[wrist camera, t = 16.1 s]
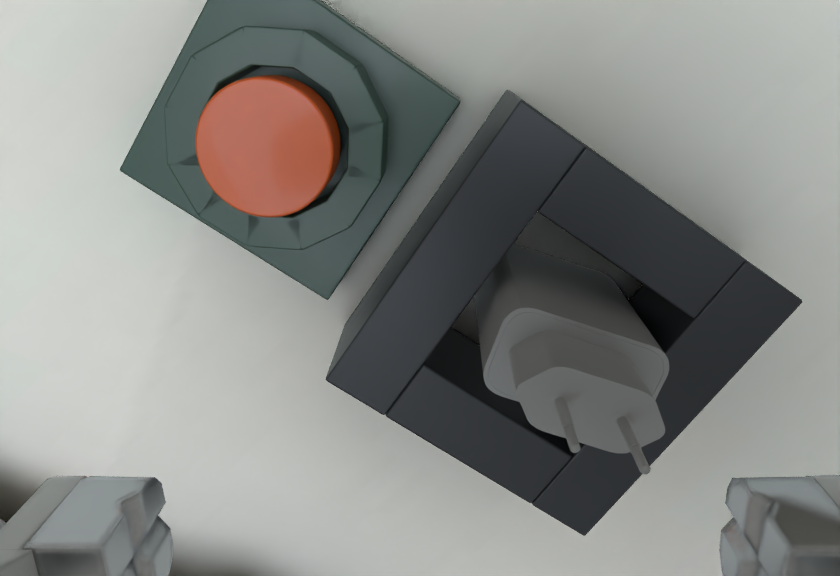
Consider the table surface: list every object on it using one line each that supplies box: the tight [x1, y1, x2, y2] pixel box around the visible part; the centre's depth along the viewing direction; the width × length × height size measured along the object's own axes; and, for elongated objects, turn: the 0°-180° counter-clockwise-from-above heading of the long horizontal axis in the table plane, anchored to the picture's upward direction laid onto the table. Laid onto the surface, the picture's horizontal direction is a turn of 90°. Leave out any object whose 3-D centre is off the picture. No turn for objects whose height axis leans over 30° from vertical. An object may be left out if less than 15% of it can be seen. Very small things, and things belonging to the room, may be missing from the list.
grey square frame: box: [326, 90, 802, 536], centre depth 26 cm, size 12×12×5 cm
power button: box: [195, 75, 341, 217], centre depth 23 cm, size 4×4×2 cm
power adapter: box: [474, 244, 669, 474], centre depth 23 cm, size 3×5×12 cm, turn 72°
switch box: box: [120, 0, 460, 300], centre depth 25 cm, size 9×9×4 cm
